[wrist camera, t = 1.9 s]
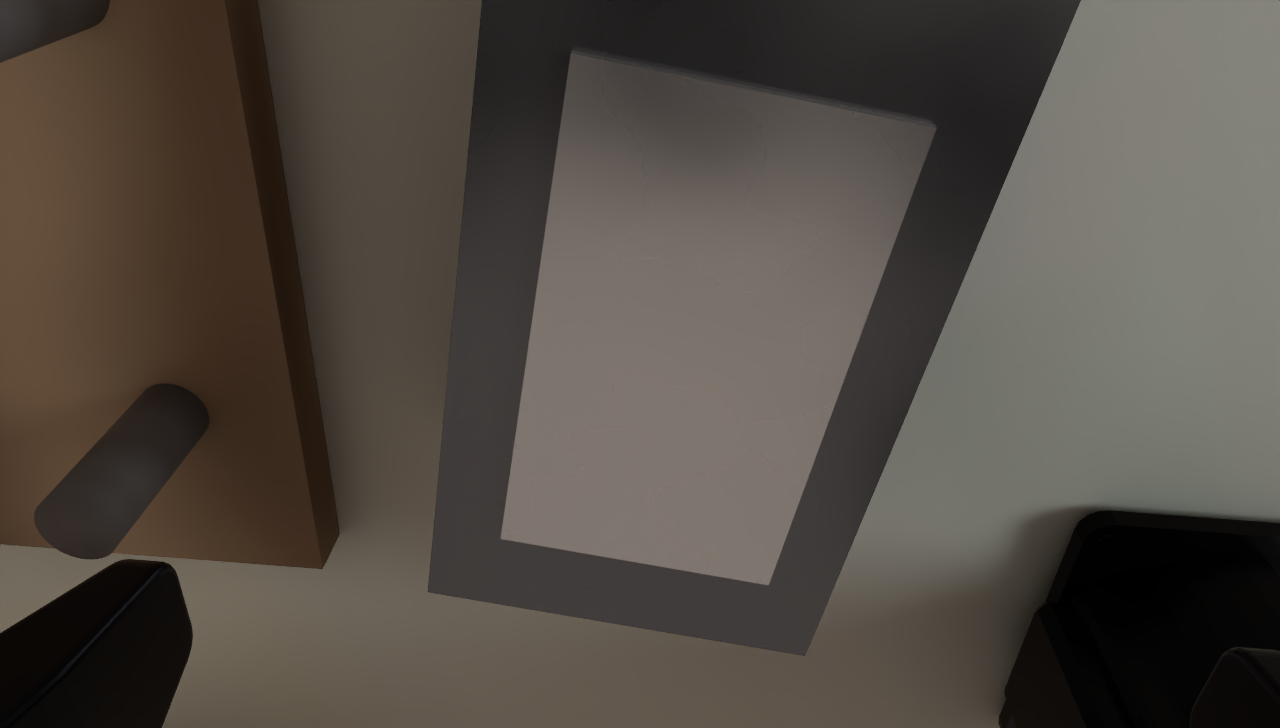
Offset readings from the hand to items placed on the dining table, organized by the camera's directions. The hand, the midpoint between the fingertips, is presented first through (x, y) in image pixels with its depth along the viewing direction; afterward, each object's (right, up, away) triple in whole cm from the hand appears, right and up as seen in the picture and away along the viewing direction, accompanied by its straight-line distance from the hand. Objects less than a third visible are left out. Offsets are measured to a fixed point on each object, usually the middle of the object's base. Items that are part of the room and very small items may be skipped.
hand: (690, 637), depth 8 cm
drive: (0, +5, +7) cm, 9 cm away
